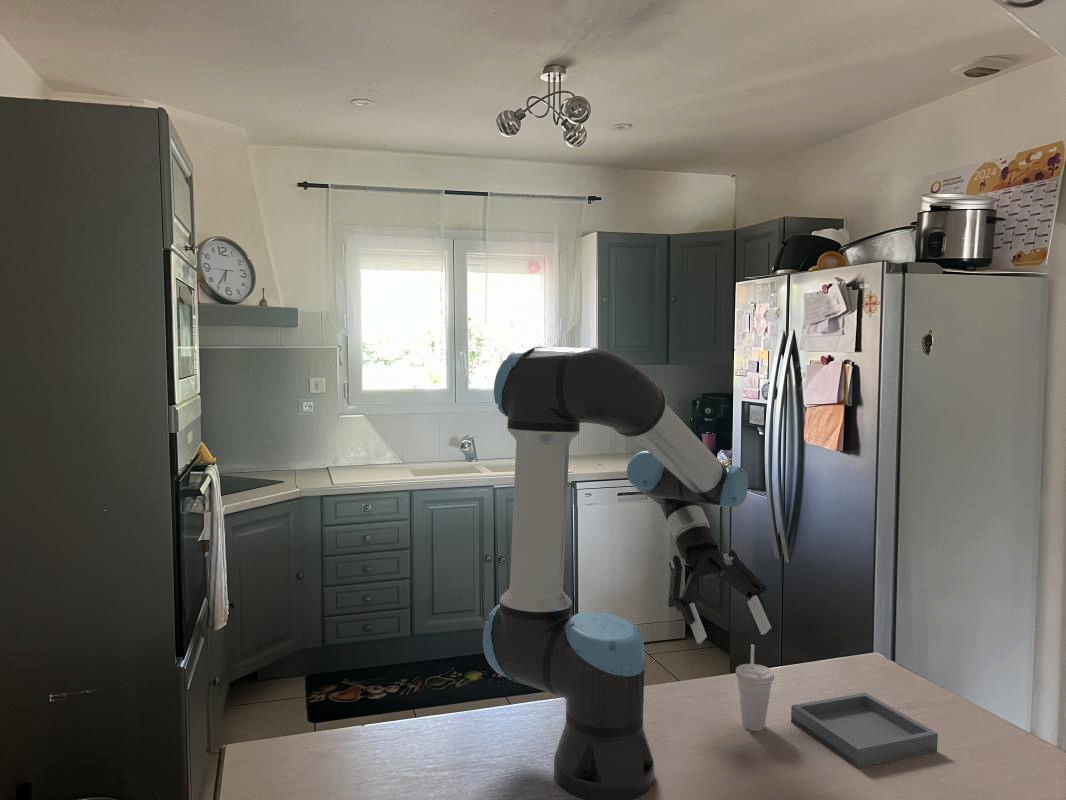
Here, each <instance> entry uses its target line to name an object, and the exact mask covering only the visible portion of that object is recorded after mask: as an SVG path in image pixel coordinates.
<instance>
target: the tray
mask: <svg viewBox="0 0 1066 800" xmlns="http://www.w3.org/2000/svg"><path fill="white" fill-rule="evenodd" d="M790 712H791V713H790V723H791V724H793V723H794V724H795V725H794V724H793V725H794V726H796V725H797V726H798V728H799V729H800V728H801V729H800V730H802V731H803V730H804V731H803V732H805V733H806V734H807V733H808V734H807V735H809V736H810V735H811V736H810V737H812V738H813V739H815V740H816V741H818V743H820V744H822V745H823V746H824V747H826V748H827V749H829V750H830V751H832V752H834V753H835V754H836V755H838V756H839V757H841V758H842V759H843V760H845V761H846V762H848V763H849V764H850V765H851V766H853V767H855V768H856V769H861V768H864V767H869V766H874V765H880V764H884V762H885V763H890V762H894V761H898V760H897V759H899V760H903V758H904V759H908V758H912V757H911V756H913V757H918V756H922V755H921V754H923V755H926V754H925V753H927V754H931V753H936V752H935V751H937V752H938V740H939V738H938V737H939V733H938V732H936V731H934V730H933V729H931V728H930V727H927V726H925V725H924V724H922V723H920V722H918V721H916V720H915V719H913V718H911V717H909V716H908V715H907V714H905V713H903V712H901V711H899V710H897V709H895V708H894V707H892V706H890V705H888V704H886V703H885V702H884V701H881V700H879V699H878V698H876V697H874V696H872V695H871V694H868V693H867V692H862V693H856V694H855V693H854V694H849V695H844V696H839V697H832V698H827V699H826V698H825V699H820V700H814V701H810V702H809V701H808V702H803V703H797V704H792V705H791V709H790ZM797 726H796V727H797ZM930 752H931V753H930ZM917 755H918V756H917ZM907 757H908V758H907ZM893 760H894V761H893Z"/></svg>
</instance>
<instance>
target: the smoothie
mask: <svg viewBox="0 0 1066 800" xmlns="http://www.w3.org/2000/svg"><path fill="white" fill-rule="evenodd" d="M735 677H736V678H737V687H738V694H739V695H738V696H739V697H738V698H739V705H740V714H741V715H740V716H741V725H742V727H743V728H744V729H746V730H748V729H749V731H752V730H753V731H755V732H758V731H759V732H760V731H763V730H764V729H765V727H766V720H767V712H768V708H769V702H770V695H771V694H770V693H771V688H772V683H773V682H774V680H775V674H774V671H773V670H772V669H771V668H769V667H767V666H765V665H761V664H756V663H755V644H750V663H744V664H739V665H738V666H737V667H736V668H735Z"/></svg>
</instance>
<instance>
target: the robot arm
mask: <svg viewBox="0 0 1066 800" xmlns="http://www.w3.org/2000/svg"><path fill="white" fill-rule="evenodd" d="M493 383H494V384H493V398H494V402H495V404H496V405H498V406H497V409H498V411H499V412H500V413H501V414H502V415H504V416H505V417H507V424H506V425H507V431H508V432H509V433H510V434H511V436H513V438H514V439H515V442H516V443H515V461H514V462H515V464H514V481H513V482H514V485H513V486H514V487H513V506H512V507H513V508H512V526H511V528H512V531H511V532H512V533H511V553H510V555H511V556H510V570H509V571H510V573H509V574H510V576H509V588H508V589H507V590H506V591H505V592H504V593H503V594H502V595H500V598H499V604H497V605H496V606H494V608H493V609H492V610H491V611H490V613H489V614H488V618H489V620H486V621H485V624H484V628H483V634H482V646H483V652H484V653H483V654H484V656H485V659H486V660H487V663H488V664H489V666H490V668H491V669H493V671H495V672H496V673H497V674H498V675H501V676H503V677H505V678H507V679H509V680H510V681H512V682H514V683H518V684H523V685H526V686H527V687H528V686H529V687H532V688H535V689H538V690H541V691H542V692H543V691H544V692H547V693H549V694H552V695H556V696H559V697H561V698H563V699H565V724H564V728H563V730H562V734H561V736H560V739H559V742H558V744H557V747H556V751H555V754H554V757H553V758H554V759H553V776H554V778H555V781H556V782H557V784H558V785H559V786H560V787H561V788H563V789H564V790H565V791H567V792H568V793H570V794H571V795H574V796H577V797H580V798H582V799H586V800H631V799H634V798H637V797H639V796H642V795H643V794H645V793H646V792H647V791H649V790H650V788H651V787H652V786H653V784H654V780H655V763H654V757H653V755H652V752H651V748H650V744H649V740H648V739H647V738H648V737H647V734H646V731H645V728H644V701H645V700H644V697H645V667H646V662H647V661H646V656H645V644H644V637H643V635H642V633H641V631H640V630H639V628H638V627H637V626H636V625H634V624H633V623H632V622H630V621H629V620H627V619H625V618H623V617H620V616H618V615H615V614H612V613H606V612H602V613H599V612H597V611H584V612H579V613H576V614H574V615H572V604H573V603H572V602H573V601H572V599H571V598H570V597H569V596H568V595H567V594H566V593H565V591H564V573H565V572H564V569H565V553H566V552H565V549H566V527H567V509H568V508H567V503H568V481H569V460H570V458H569V457H570V443H571V442H572V441H573V440H574V439H575V438H576V437H577V436H578V435H579V434H580V429H581V427H580V426H581V425H580V424H596V425H600V426H605V427H608V428H611V429H614V430H615V431H616V432H617V434H619V435H621V436H623V437H627V438H633V439H634V440H635V441H636V442H637V443H638V444H639V445H640V446H642V447H643V448H644V449H645V450H643V451H639V452H637V453H636V454H634V456H632V457H631V458H630V460H629V462H628V464H627V467H626V477H627V479H628V481H629V483H630V484H631V485H633V487H634V488H635V489H636V490H637V491H639V492H640V493H643V494H644V495H645V496H647V497H649V498H650V499H651V500H653V501H654V502H655V503H656V504H658V505H659V506H660V508H661V511H662V513H663V515H664V517H665V521H666V523H667V525H668V527H669V531H670V532H671V535H672V537H673V540H674V541H675V545H676V548H677V551H678V553H679V555H680V556H679V555H676V554H675V555H674V556H673V557H672V558H671V560H670V561H669V563H668V566H669V569H670V579H669V580H670V581H669V582H670V583H669V590H668V591H669V592H668V601H667V604H668V605H667V606H668V607H669V608H676V611H678V612H681V614H682V616H683V619H684V622H685V624H686V625H687V626H690V628H691V631H692V633H693V636H694V639H695V641H696V644H702V643H703V641H704V640H705V639H706V638H707V637H708V635H707V632H706V631H705V627H704V625H703V623H702V621H701V618H700V614H699V613H698V610H697V607H696V604H695V602H691V603H689V602H690V601H691V598H692V595H693V592H694V590H695V587H696V585H697V583H698V580H699V579H700V580H707V579H710V580H712V579H713V580H714V579H718V580H720V581H723V582H725V583H726V584H728V585H729V586H731V587H732V588H734V590H736V591H737V592H738V593H740V594H742V595H743V596H744V597H745V598H747V599H748V601H747V605H748V607H749V610H750V612H751V614H752V617H753V620H754V621H755V623H756V625H757V628H758V630H759V633H760V635H761V636H762V635H765V634H767V633H768V632H769V631H770V630H771V629H772V626H771V624H770V623H771V622H770V621H769V619H768V616H767V614H766V613H767V611H768V610H767V608H766V605H765V604H764V601H763V599H762V596H763V595H764V594H765V593H766V592H767V591H768V588H767V586H766V585H765V584H764V583H763V582H762V580H760V579H759V578H758V577H757V576H756V575H755V574H754V572H752V571H751V570H750V568H748V567H747V565H745V564H744V562H743V561H742V560H740V558H739V556H738V555H737V553H736V551H734V550H733V549H731V550H729V552H728V553H723V554H722V553H721V551H720V550H719V545H718V542H717V539H716V536H715V535H714V532H713V530H712V528H711V527H710V523H709V520H708V518H707V517H706V513H705V512H704V510H703V508H702V505H701V504H704V505H711V506H716V507H717V506H718V507H721V508H722V507H730V508H738V507H740V506H741V505H742V504H743V503H744V501H745V500H746V498H747V495H748V489H749V479H748V475H747V472H746V470H745V469H744V468H742V467H740V466H737V465H732V464H723V463H722V462H721V461H720V460H719V458H718V457H717V456H716V455H714V454H713V453H712V451H711V450H710V449H709V448H708V447H707V446H706V445H705V444H704V443H703V442H702V441H701V439H700V438H698V436H697V435H696V434H695V433H694V432H693V431H692V430H691V429H690V428H689V427H688V426H687V425H686V423H685V422H684V421H683V420H682V419H681V418H680V417H679V416H678V415H677V414H676V413H675V412H674V411H673V409H671V407H670V406H669V405H668V404H667V400H666V399H667V398H666V395H665V393H664V391H663V390H662V389H661V388H660V386H659V385H658V384H657V383H656V382H655V381H654V380H653V379H652V378H651V377H650V376H649V375H647V374H646V373H645V372H643V371H642V370H641V369H640V368H638V366H635V365H634V364H633V363H632V362H630V361H628V360H626V359H625V358H623V357H622V356H620V355H617V354H615V353H614V352H610V351H608V350H606V349H601V348H598V347H587V346H586V347H584V346H583V347H561V346H560V347H558V346H557V347H556V346H553V347H552V346H542V345H540V346H534V347H533V346H532V347H524V348H519V349H516V350H514V351H512V352H511V353H510V354H509V355H508V356H507V357H506V359H504V360H503V361H502V363H501V364H500V366H499V368H498V370H497V372H496V375H495V379H494V382H493ZM683 567H684V568H686V569H687V570H688V571H689V574H688V577H687V581H686V584H685V586H684V589H683V592H682V594H681V583H682V572H683ZM722 570H723V572H722ZM680 595H681V597H680Z"/></svg>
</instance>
